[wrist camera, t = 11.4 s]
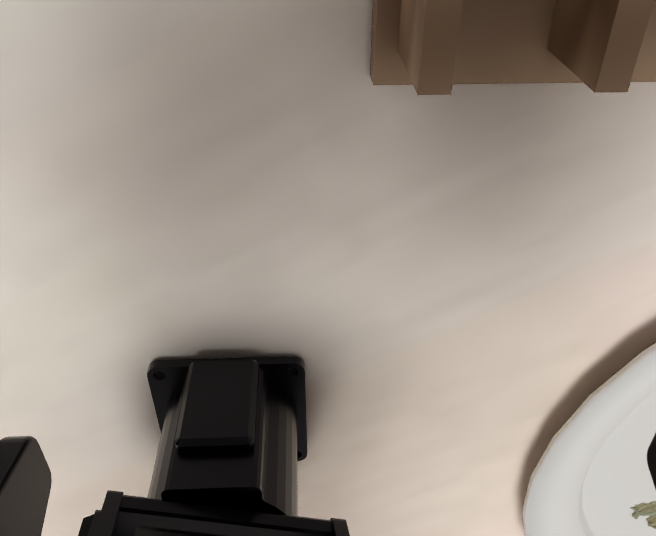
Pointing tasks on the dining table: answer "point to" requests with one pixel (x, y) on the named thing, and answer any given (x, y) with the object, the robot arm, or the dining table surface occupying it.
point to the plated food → (600, 462)
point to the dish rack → (513, 43)
